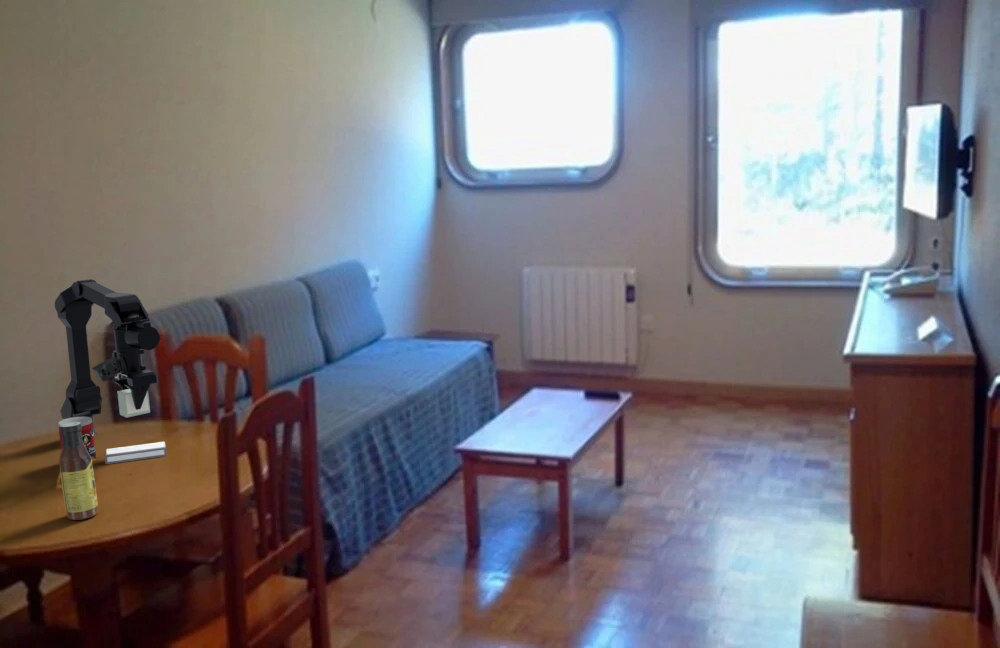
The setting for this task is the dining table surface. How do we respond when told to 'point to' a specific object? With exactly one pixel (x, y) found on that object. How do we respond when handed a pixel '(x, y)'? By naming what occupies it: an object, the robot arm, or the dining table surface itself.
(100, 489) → the dining table surface
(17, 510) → the dining table surface
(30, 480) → the dining table surface
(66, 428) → the sauce bottle
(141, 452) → the shelf
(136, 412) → the carton
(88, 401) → the robot arm
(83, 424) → the canned food
